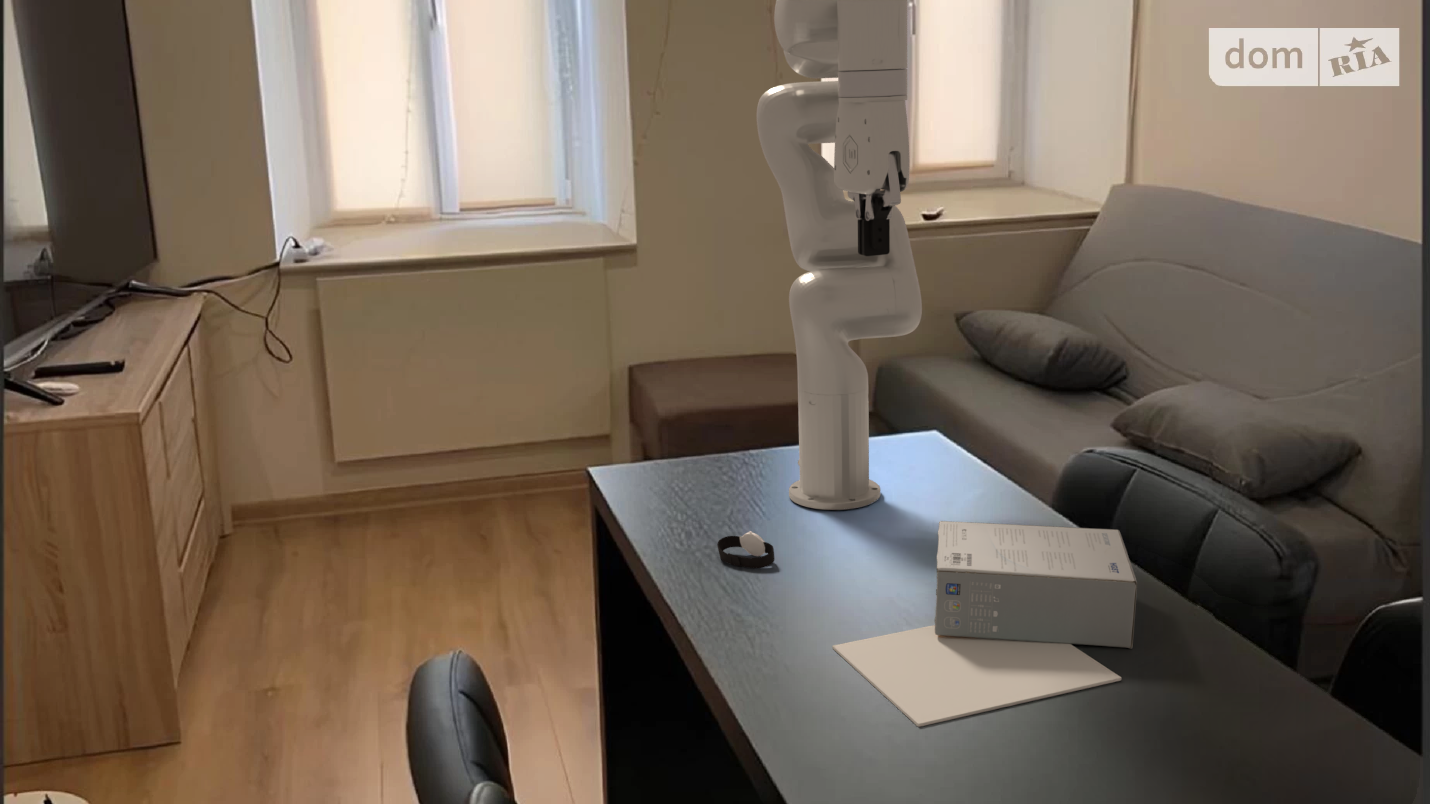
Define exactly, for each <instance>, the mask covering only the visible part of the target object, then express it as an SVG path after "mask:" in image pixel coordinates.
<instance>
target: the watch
mask: <svg viewBox="0 0 1430 804" xmlns="http://www.w3.org/2000/svg"><path fill="white" fill-rule="evenodd" d="M716 546H717V550H718V554H719V558H720V559H721V560H722V562H724V563H726V564H729V565H732V566H735V567H739V568H740V567H742V568H747V569H762V568H766V567H769V566H770V565H773V563H774V562H775V560H776V559H775V549H774V546H773V545H772V544H771V543H769V542H766V541H765V540H764V539H763V538H762V537H761V536H760V535H759V534H757V533H755V532H753V531H751V530H749V531H748V532H746V533H744V534H743V535H742V536H740V535H729V536H728V535H727V536H724V537H722V538H720V539H719V540H718V541H717V545H716ZM730 548H741V549H744V551H746V552H747V553H748V554H750V555H751V556H753V557H746V556H741V555H735V554H733V553H730V552H728V553H727V552H725V550H727V549H730ZM764 554H765V555H764Z"/></svg>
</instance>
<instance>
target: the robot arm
mask: <svg viewBox="0 0 1430 804" xmlns="http://www.w3.org/2000/svg"><path fill="white" fill-rule="evenodd" d="M773 17H774V18H773V19H774V20H773V21H774V29H775V35H776V37H777V41H778V43H779V44H780V47H781V49H782V50H783V55H784V58H785V61H786V63H787V65H788V66H789V67H790V69H791V70H793V71H794V72H795V73H797V74H798V75H800V76H803V77H805V78H809V79H837V78H838V79H837V80H832V81H830V80H829V81H828V80H827V81H826V80H825V81H823V80H822V81H803V82H802V81H800V82H789V83H784V84H781V85H776V86H774V87H771V88H770V89H768V90H766V91H764V93H762V94H761V96H760V98H759V99H758V103H757V107H756V127H757V134H758V140H759V143H760V144H759V145H760V147H761V150H762V153H763V156H764V158H765V161H766V163H767V165H768V167H769V169H770V171H771V173H772V174H773V176H774V179H775V180H776V182H777V184H778V187H779V189H780V192H781V195H782V203H783V209H784V216H785V221H786V222H785V223H786V227H787V232H788V239H789V244H790V249H791V253H792V257H793V259H794V261H795V263H796V264H797V266H799V268H800V269H801V270H804V271H807V272H805V273H803V274H801V275H800V276H798V277H797V278H796V279H795V280H794V281H793V282H792V284H791V286H790V288H789V289H790V290H789V292H788V293H789V294H788V305H789V311H790V312H789V313H790V319H791V323H792V324H791V325H792V330H793V336H794V345H795V351H796V368H797V403H798V404H797V408H798V413H797V414H798V448H799V449H798V451H799V453H798V456H799V458H798V460H797V464H798V467H799V479H798V480H796V481H795V482H793V483H792V484H791V485H790V486H789V489H788V495H789V496H788V497H789V498H790V500H791V501H792V502H793V503H795V504H798V505H800V506H802V507H805V508H809V509H810V508H811V509H815V510H823V511H824V510H825V511H842V510H852V509H853V510H854V509H858V508H863V507H866V506H868V505H871V504H874V503H876V502H877V501H878V500H879V499H880V497H881V487H880V485H879V484H878V483H877V482H876V481H874V480H872V479H870V442H869V441H870V438H869V436H870V434H869V433H870V429H869V423H870V422H869V421H870V418H869V414H870V413H869V373H868V370H867V367H866V364H865V363H864V361H863V360H862V359H861V357H860V356H859V355H858V354H857V353H856V352H855V351H854V350H853V349H852V348H851V347H850V345H849V342H850V341H854V340H856V341H857V340H860V339H861V340H862V339H877V338H879V339H880V338H892V337H894V338H895V337H901V336H905V335H906V336H907V335H908V334H910V333H912V332H914V331H915V330H916V329H917V328H918V326H919V324H920V323H921V319H922V316H923V315H922V312H923V305H922V303H923V302H922V294H921V288H920V287H921V286H920V283H919V278H918V273H917V269H916V264H915V260H914V255H913V251H912V246H911V240H910V237H909V232H908V228H907V224H906V221H905V218H904V216H903V213H902V212H901V210H900V209H899V208H898V207H897V206H898V205H900V204H901V203H902V197H901V193H902V192H904V191H905V190H906V189H907V188H908V186H909V182H910V181H909V180H910V141H909V140H910V139H909V138H910V137H909V126H908V125H909V124H908V115H907V114H908V113H907V108H906V101H907V100H908V0H775V5H774V16H773ZM832 143H833V144H834V154H833V155H834V159H833V165H832V164H831V163H830V162H829V161H828V160H827V159H826V158H825V157H823V156H822V155H821V154H820V153H819V152H816V151H815V150H814V149H812V148H811V147H810V146H809V145H813V144H814V145H815V144H832ZM844 191H845V192H847V196H848V198H849V199H851V200H852V201H851V200H847V199H846V198H845V194H844Z"/></svg>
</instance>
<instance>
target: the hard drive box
mask: <svg viewBox="0 0 1430 804" xmlns="http://www.w3.org/2000/svg"><path fill="white" fill-rule="evenodd" d="M937 541H938V542H937V553H936V589H935V596H936V597H935V598H936V599H935V601H936V602H935V615H934V625H935V634H936V635H946V636H960V637H976V638H990V639H1006V640H1021V641H1036V642H1052V643H1067V644H1071V645H1085V646H1086V645H1087V646H1097V647H1099V646H1100V647H1101V646H1102V647H1113V648H1128V649H1133V644H1134V633H1135V621H1136V620H1135V619H1136V608H1137V607H1136V606H1137V605H1136V604H1137V592H1138V591H1137V590H1138V581H1137V578H1136V575H1135V572H1134V569H1133V565H1132V563H1131V560H1130V558H1129V555H1128V550H1127V548H1126V545H1125V543H1124V540H1123V536H1122V534H1121V532H1120V530H1119V529H1111V528H1089V527H1070V526H1069V527H1068V526H1054V525H1053V526H1052V525H1034V524H1032V525H1031V524H1028V525H1027V524H1011V523H1010V524H1009V523H994V522H993V523H991V522H971V521H952V520H951V521H947V520H944V521H943V520H940V521H938V531H937Z"/></svg>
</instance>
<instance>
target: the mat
mask: <svg viewBox="0 0 1430 804" xmlns="http://www.w3.org/2000/svg"><path fill="white" fill-rule="evenodd" d="M832 649H833V651H835V652H836V653H837V655H839V656H841V658H843V660H845V661H846V662H847V663H848V664H849V665H850V666H851V667H852V668H853V669H854V670H855V671H856V672H858V673H859V674H860V675H861V676H862V678H864V679H866V681H868V682H869V683H870V684H871V685H872V686H873V687H874V688H875V689H876V690H877V691H878V692H879V693H881V695H883V696H884V697H885V698H886V699H887V700H888V701H890V702H891V704H893V706H895V707H896V708H897V709H898V710H899V711H900V712H901V713H903V714H904V715H905V716H906V718H907V719H909V720H910V722H912V723H913V724H914V725H915V726H916V727H918V728H920V727H924V726H929V725H933V724H937V723H942V722H946V721H950V720H954V719H959V718H963V717H966V716H972V715H977V714H981V713H984V712H985V713H986V712H989V711H994V710H998V709H1002V708H1003V709H1004V708H1006V707H1012V706H1016V705H1019V704H1024V703H1028V702H1032V701H1033V702H1034V701H1038V700H1041V699H1046V698H1050V697H1055V696H1059V695H1063V694H1067V693H1073V692H1076V691H1080V690H1086V689H1089V688H1095V687H1098V686H1104V685H1107V684H1112V683H1115V682H1120V681H1122V676H1120V675H1118V674H1117V673H1115V672H1114V671H1112V670H1111V669H1109V668H1107V667H1106V666H1105V665H1103V664H1101V663H1100V662H1098V661H1097V660H1095V659H1094V658H1092V657H1091V656H1089V655H1088V654H1087V653H1085V652H1083V651H1082V650H1081V649H1079V648H1078V647H1076V646H1074V644H1067V643H1052V642H1036V641H1021V640H1006V639H990V638H976V637H960V636H946V635H936V634H935V624H933V625H928V626H923V627H918V628H913V629H907V630H902V631H898V632H893V633H888V634H883V635H878V636H873V637H869V638H864V639H858V640H853V641H849V642H844V643H840V644H839V643H838V644H833V645H832Z"/></svg>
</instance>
